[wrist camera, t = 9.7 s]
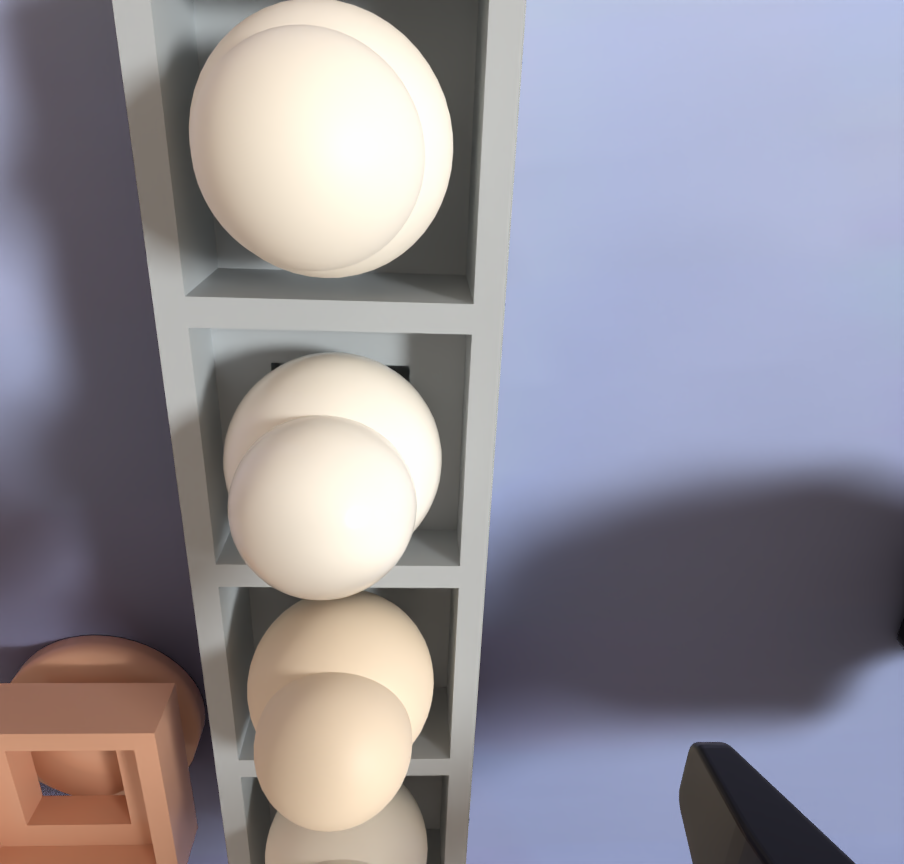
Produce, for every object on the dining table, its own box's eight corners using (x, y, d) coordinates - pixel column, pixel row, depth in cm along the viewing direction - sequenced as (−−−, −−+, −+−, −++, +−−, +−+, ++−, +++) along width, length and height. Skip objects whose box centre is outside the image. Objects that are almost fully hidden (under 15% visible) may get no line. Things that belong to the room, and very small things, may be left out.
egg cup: (194, 635, 22) (154, 733, 19) (214, 774, 25) (181, 882, 22) (-7, 634, 22) (-86, 734, 19) (33, 775, 25) (-29, 886, 21)
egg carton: (501, -27, 15) (576, -139, 8) (454, 788, 26) (469, 1065, 18) (185, -44, 15) (-36, -177, 8) (265, 790, 25) (203, 1073, 18)
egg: (436, 498, 18) (441, 664, 13) (256, 494, 18) (188, 662, 13) (443, 327, 16) (453, 442, 11) (242, 320, 16) (155, 436, 11)
